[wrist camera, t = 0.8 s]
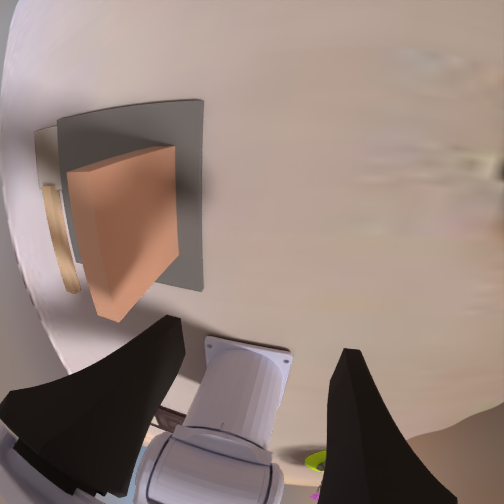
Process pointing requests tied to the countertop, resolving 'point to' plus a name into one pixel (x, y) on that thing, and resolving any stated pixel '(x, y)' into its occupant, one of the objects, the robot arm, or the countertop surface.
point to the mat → (136, 138)
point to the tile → (125, 225)
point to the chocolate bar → (167, 419)
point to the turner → (54, 202)
